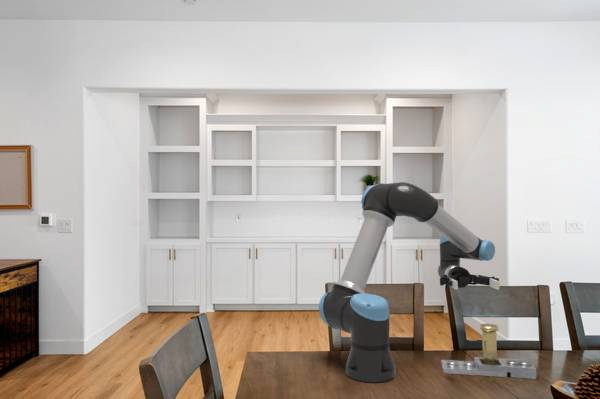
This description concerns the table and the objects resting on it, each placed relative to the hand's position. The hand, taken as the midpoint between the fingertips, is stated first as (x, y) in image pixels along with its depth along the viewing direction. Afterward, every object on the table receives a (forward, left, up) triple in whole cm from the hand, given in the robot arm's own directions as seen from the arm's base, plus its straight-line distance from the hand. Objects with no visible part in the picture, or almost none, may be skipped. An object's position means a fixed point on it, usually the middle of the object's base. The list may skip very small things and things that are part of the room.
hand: (477, 285), depth 150 cm
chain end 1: (-3, -10, -25) cm, 27 cm away
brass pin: (+2, -10, -25) cm, 27 cm away
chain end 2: (+6, -10, -25) cm, 27 cm away
